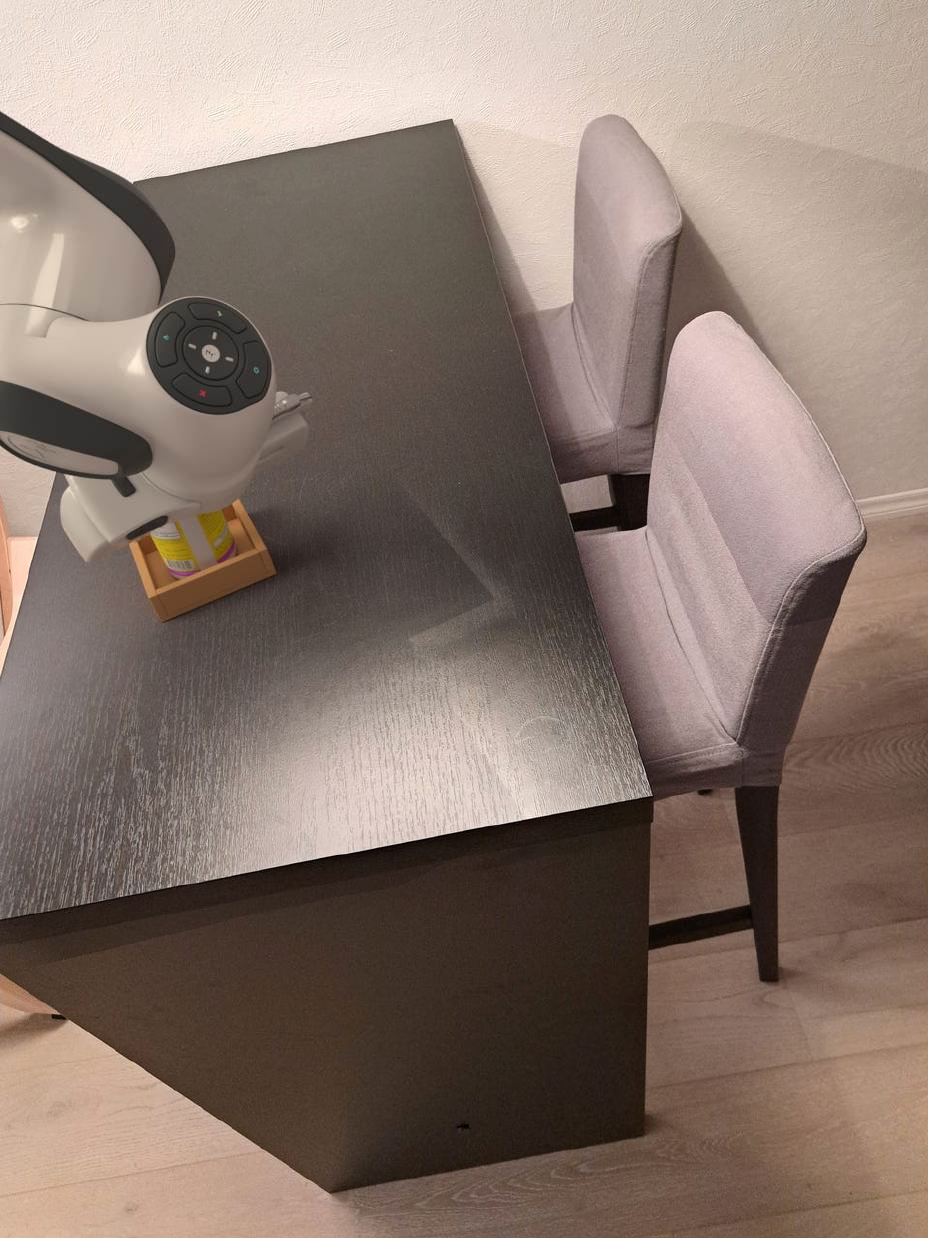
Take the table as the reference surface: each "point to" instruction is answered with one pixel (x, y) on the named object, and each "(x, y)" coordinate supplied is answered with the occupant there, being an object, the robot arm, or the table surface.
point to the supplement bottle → (195, 543)
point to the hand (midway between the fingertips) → (186, 504)
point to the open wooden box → (210, 583)
